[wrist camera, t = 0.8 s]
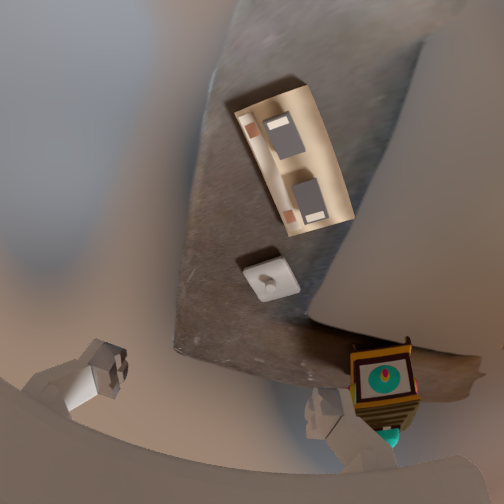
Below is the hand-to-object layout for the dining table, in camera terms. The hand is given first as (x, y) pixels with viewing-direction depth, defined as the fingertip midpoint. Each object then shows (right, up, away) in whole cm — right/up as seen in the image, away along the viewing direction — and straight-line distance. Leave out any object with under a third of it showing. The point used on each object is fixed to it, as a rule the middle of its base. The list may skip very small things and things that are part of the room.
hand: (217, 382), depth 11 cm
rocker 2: (+11, +14, +37) cm, 41 cm away
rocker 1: (+7, +24, +31) cm, 40 cm away
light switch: (+6, +1, +53) cm, 54 cm away
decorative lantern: (+38, -25, +63) cm, 78 cm away
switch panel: (+10, +22, +38) cm, 45 cm away
